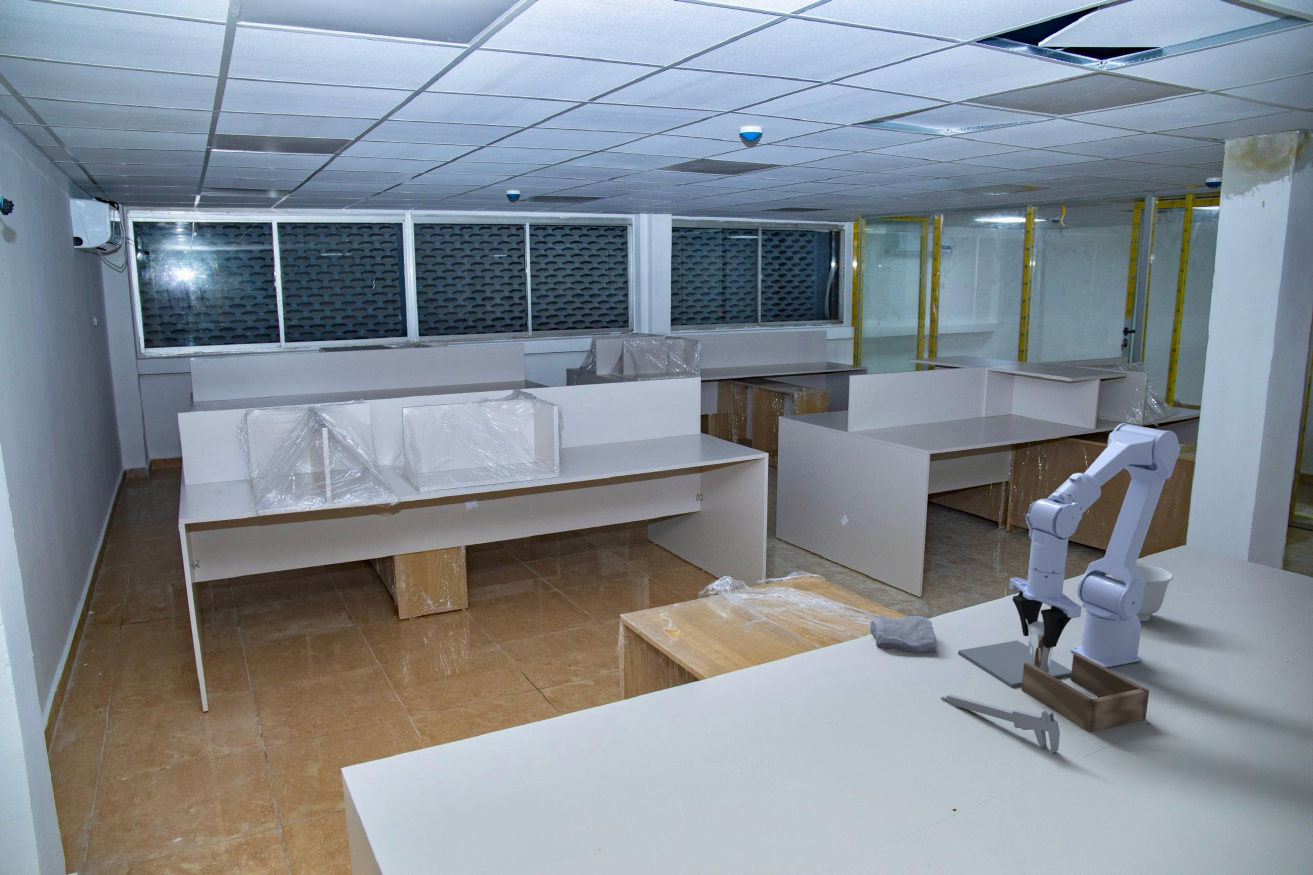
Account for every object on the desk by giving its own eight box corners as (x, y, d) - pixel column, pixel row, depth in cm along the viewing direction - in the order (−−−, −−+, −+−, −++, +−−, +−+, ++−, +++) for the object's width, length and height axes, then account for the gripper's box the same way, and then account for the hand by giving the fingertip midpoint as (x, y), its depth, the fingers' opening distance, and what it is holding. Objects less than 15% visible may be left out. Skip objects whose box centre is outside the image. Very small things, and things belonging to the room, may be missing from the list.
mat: (1016, 643, 167) (1017, 640, 167) (1073, 675, 154) (1074, 672, 154) (958, 653, 162) (958, 650, 162) (1011, 687, 149) (1011, 684, 149)
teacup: (1101, 596, 191) (1106, 554, 189) (1175, 616, 180) (1181, 571, 178) (1079, 610, 183) (1084, 566, 181) (1155, 632, 172) (1161, 585, 170)
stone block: (939, 662, 163) (928, 631, 172) (942, 641, 161) (930, 611, 170) (876, 662, 164) (868, 630, 173) (877, 641, 162) (869, 610, 171)
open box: (1074, 679, 152) (1077, 652, 151) (1145, 719, 139) (1149, 690, 138) (1021, 689, 148) (1024, 662, 147) (1088, 731, 135) (1092, 702, 134)
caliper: (1058, 753, 130) (1062, 715, 128) (1054, 756, 129) (1058, 717, 128) (943, 698, 146) (946, 664, 145) (939, 700, 145) (942, 666, 144)
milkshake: (1015, 666, 155) (1019, 614, 153) (1044, 666, 155) (1049, 614, 154) (1027, 677, 151) (1031, 623, 149) (1057, 677, 151) (1062, 623, 149)
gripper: (998, 557, 155) (992, 627, 157) (1061, 585, 141) (1053, 661, 144) (1029, 553, 157) (1022, 622, 160) (1094, 580, 144) (1085, 655, 146)
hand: (1039, 640), depth 152 cm, fingers closed on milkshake, 4 cm apart
